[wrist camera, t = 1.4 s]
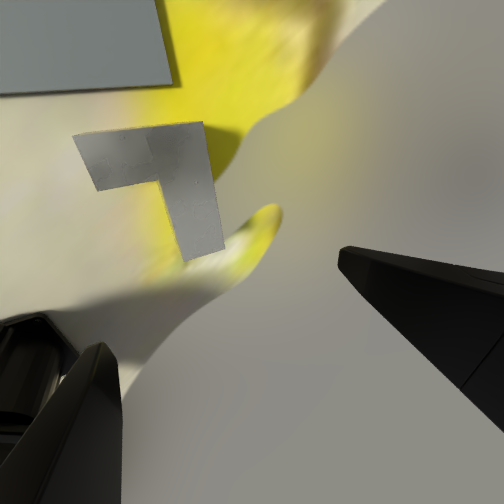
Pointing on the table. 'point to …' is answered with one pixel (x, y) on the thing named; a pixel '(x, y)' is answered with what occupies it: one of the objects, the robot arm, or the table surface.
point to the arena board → (80, 45)
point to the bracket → (162, 176)
